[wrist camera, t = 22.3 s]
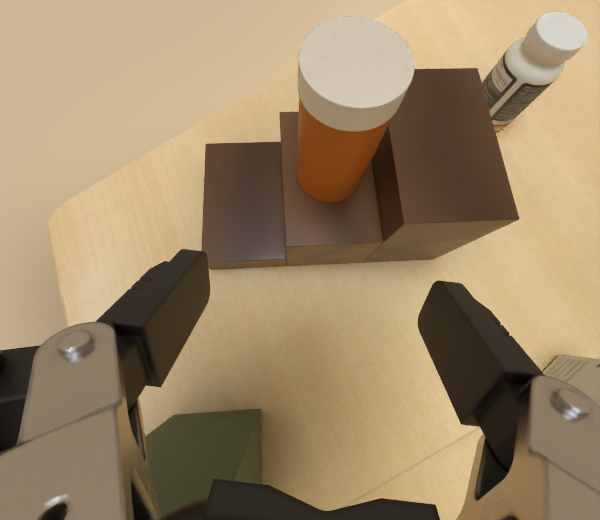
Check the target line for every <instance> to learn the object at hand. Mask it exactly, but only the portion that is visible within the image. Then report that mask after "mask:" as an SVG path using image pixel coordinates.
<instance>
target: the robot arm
mask: <svg viewBox="0 0 600 520" xmlns="http://www.w3.org/2000/svg"><path fill="white" fill-rule="evenodd" d="M209 296H210V280H209V269H208V258H207V254H206V252H203V251H195V250H186V249H182V250H180V251H179V252H178V253H177V254H176V255H175V256H174V258H173V259H172V260H171V261H170V262H166V261H164V262H162V263H160V264H158V265H157V266H155V267H153V268H151V269H149V270H148V271H147V272H146V273H145V274H144V275H143V276H142V277H141V278H140V281H137V282H136V283H135V284H134V285H133V286H132V288H131V289H129V290H128V291H127V292H126V293H125V294H124V295H123V296H122V297H121V298H120V299H119V300H118V301H116V302H115V303H114V304H113V305H112V306H111V307H110V308H109V309H108V310H107V311H106V312H105V313H104V314H103V315H102V316H101V317H100V318H99V319H98V320H97V321H96V322H88V323H82V324H77V325H74V326H71V327H69V328H66V329H64V330H62V331H60V332H58V333H57V334H55V335H53V336H51V337H50V338H49V339H47V340H46V341H45V342H44V343H43V344H42V345H40V346H33V347H25V348H17V349H9V350H0V520H440V518H439V515H438V511H437V508H436V505H432V504H424V503H416V502H407V501H399V500H390V499H382V498H381V499H377V500H373V501H369V502H365V503H361V504H356V505H352V506H348V507H344V508H340V509H336V510H332V511H322V510H320V509H317V508H315V507H313V506H311V505H309V504H307V503H305V502H303V501H301V500H298V499H296V498H294V497H292V496H290V495H288V494H286V493H284V492H282V491H280V490H277V489H275V488H273V487H271V486H269V485H263V484H255V483H246V482H238V481H229V480H221V479H213V482H212V486H211V489H210V493H209V495H208V496H204V497H200V498H197V499H195V500H192V501H189V502H187V503H184V504H182V505H181V506H179V507H177V508H175V509H173V510H171V511H169V512H168V513H166V514H165V515H163V516H162V517H161V514H160V508H159V503H158V498H157V493H156V489H155V485H154V481H153V477H152V473H151V469H150V463H149V457H148V451H147V445H146V438H145V432H144V426H143V419H142V413H141V407H140V401H139V398H138V397H139V395H140V394H141V392H142V390H143V389H144V387H145V386H146V385H147V386H155V387H161V386H162V384H163V382H164V380H165V379H166V377H167V375H168V373H169V371H170V370H171V368H172V366H173V364H174V363H175V361H176V359H177V357H178V355H179V354H180V352H181V350H182V348H183V346H184V345H185V343H186V341H187V339H188V337H189V336H190V334H191V332H192V330H193V328H194V327H195V325H196V323H197V321H198V319H199V318H200V316H201V314H202V312H203V311H204V309H205V307H206V305H207V303H208V300H209ZM418 328H419V331H420V334H421V336H422V338H423V340H424V343H425V345H426V347H427V349H428V352H429V354H430V356H431V358H432V360H433V363H434V365H435V367H436V369H437V371H438V374H439V376H440V378H441V380H442V383H443V385H444V387H445V389H446V391H447V394H448V396H449V398H450V400H451V403H452V405H453V407H454V409H455V411H456V414H457V416H458V418H459V420H460V423H461V424H462V425H471V426H479V427H481V429H482V431H483V433H484V434H483V435H482V436H481V437H480V439H479V441H478V444H477V449H476V453H475V458H474V462H473V467H472V471H471V476H470V481H469V485H468V490H467V494H466V499H465V502H464V506H463V508H462V510H461V513H460V514H459V516H458V518H457V519H456V520H600V406H599V405H598V404H597V403H596V402H595V401H594V400H592V399H591V398H590V397H589V396H587V395H586V394H585V393H583V392H582V391H580V390H579V389H577V388H576V387H574V386H572V385H570V384H568V383H566V382H564V381H562V380H559V379H557V378H553V377H549V376H545V375H544V374H543V373H542V372H541V370H540V369H539V368H538V367H537V366H536V364H535V363H534V362H533V361H532V360H531V358H530V357H529V356H528V355H527V354H526V353H525V351H524V350H523V349H522V348H521V347H520V345H519V344H518V343H517V342H516V341H515V339H514V338H513V337H512V336H509V332H508V331H507V330H506V329H505V328H504V326H503V325H500V322H499V320H498V319H497V318H496V317H495V316H494V314H493V313H492V312H491V311H490V310H489V309H487V308H486V307H485V306H483V305H482V304H481V303H479V302H478V301H477V300H475V299H474V298H473V296H472V295H471V294H470V293H469V292H468V290H467V289H466V288H465V287H464V285H462V284H460V283H454V282H445V281H436V282H435V283H434V284H433V285H432V287H431V289H430V291H429V294H428V296H427V298H426V300H425V302H424V305H423V307H422V309H421V311H420V314H419V317H418Z"/></svg>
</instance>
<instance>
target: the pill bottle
mask: <svg viewBox="0 0 600 520" xmlns="http://www.w3.org/2000/svg"><path fill="white" fill-rule="evenodd" d="M587 37H588V35H587V31H586V28H585V26H584V25H583V24H582V23H581V22H580V21H579V20H578V19H576V18H575V17H573V16H571V15H569V14H566V13H562V12H549V13H546V14H544V15H542V16H541V17H540V18H539V19H538V20H537V21H536V22H535V23H534V24H533V26H532V27H531V28H530V29H529V31H528V32H527V35H526V37H524V38H521V39H519V40H518V41H516V42H515V43H513V44H512V45H511V46H510V47H509V48H508V49H507V51H506V52H505V53H504V55H503V56H502V57H501V59H500V60H499V61H498V63H497V64H496V65H495V66H494V68H493V69H492V70H491V72H490V73H489V74H488V76H487V77H486V78H485V79H484V81H483V82H482V86H483V90H484V93H485V97H486V101H487V104H488V108H489V112H490V115H491V119H492V122H493V126H494V130H495V131H498V130H501V129H503V128H504V127H506V126H507V125H508V124H509V123H510V122H511V121H512V120H513V119H514V118H516V117H517V116H518V115H519V114H520V113H521V112H522V111H523V110H524V109H525V108H526V107H527V106H528V105H529V104H530V103H531V102H533V101H534V100H535V99H536V98H537V97H538V96H539V95H540V94H541V93H542V92H543V91H544V90H545V89H546V88H547V87H549V86H550V85H551V84H552V83H553V82H554V81H555V80H556V79H557V78H558V76H559V75H560V74H561V72H562V70H563V67H564V61H566V60H569V59H570V58H572V57H573V56H574V55H575V54H576V53H577V52H578V51H579V50H580V49H581V48H582V47H583V45H584V44H585V43H586V41H587Z"/></svg>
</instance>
